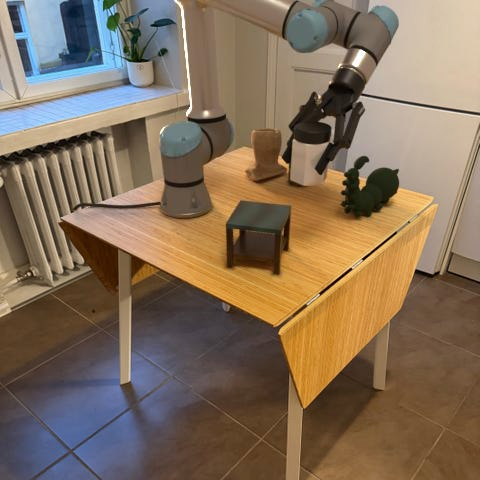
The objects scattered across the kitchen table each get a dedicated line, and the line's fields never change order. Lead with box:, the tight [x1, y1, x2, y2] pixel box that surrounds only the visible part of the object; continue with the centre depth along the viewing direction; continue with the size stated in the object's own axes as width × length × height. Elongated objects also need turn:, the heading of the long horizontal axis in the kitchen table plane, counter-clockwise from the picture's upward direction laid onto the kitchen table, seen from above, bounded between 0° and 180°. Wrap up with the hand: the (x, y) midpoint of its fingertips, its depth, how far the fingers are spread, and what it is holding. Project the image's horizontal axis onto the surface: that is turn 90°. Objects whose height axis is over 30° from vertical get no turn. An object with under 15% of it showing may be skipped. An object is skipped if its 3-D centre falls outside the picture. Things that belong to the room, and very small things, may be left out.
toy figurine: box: [340, 155, 400, 218], centre depth 134 cm, size 9×19×25 cm
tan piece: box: [244, 127, 289, 182], centre depth 157 cm, size 15×12×15 cm
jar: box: [290, 121, 333, 187], centre depth 107 cm, size 9×8×12 cm
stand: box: [225, 199, 292, 276], centre depth 115 cm, size 13×13×12 cm
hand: (301, 166), depth 107 cm, fingers closed on jar, 9 cm apart
